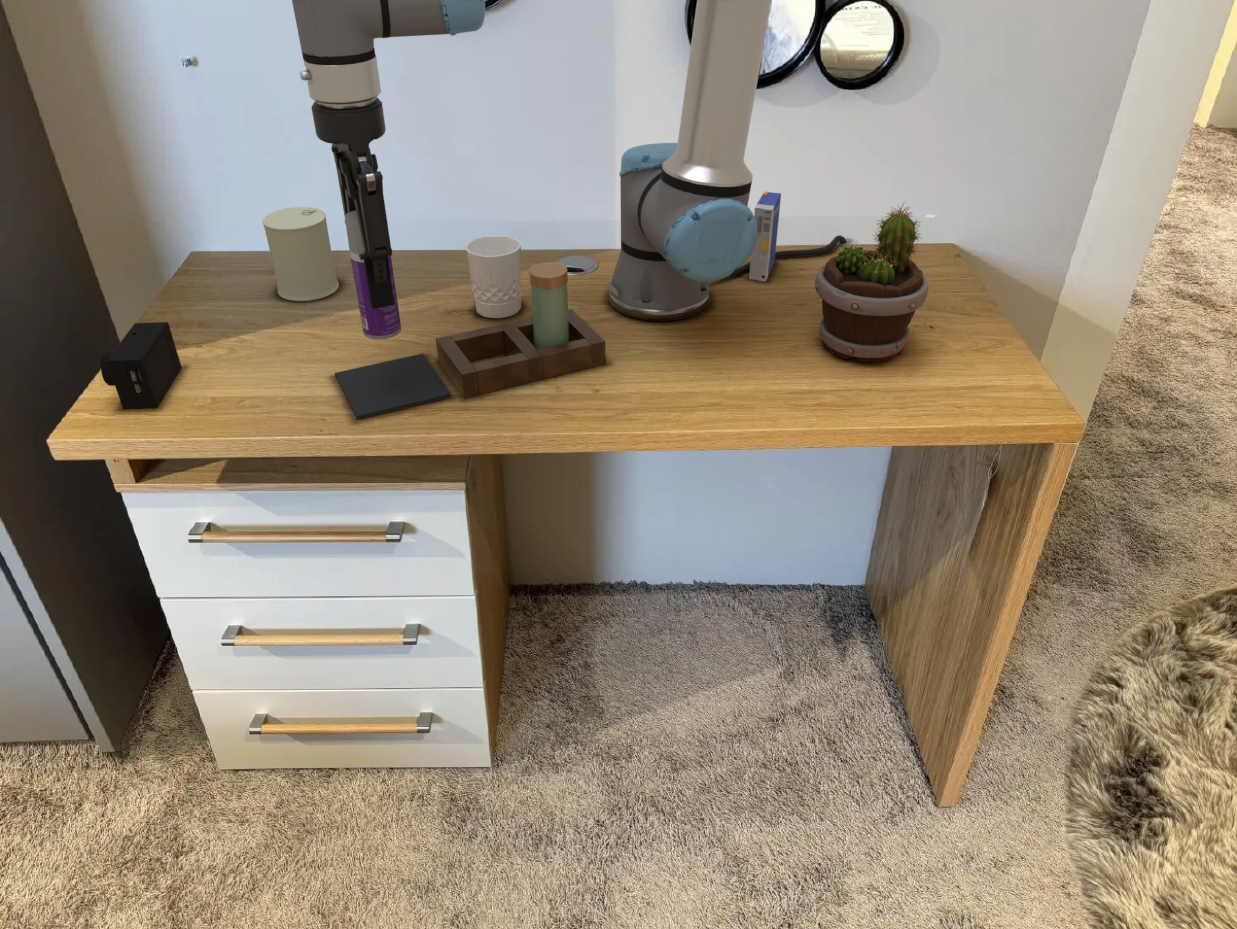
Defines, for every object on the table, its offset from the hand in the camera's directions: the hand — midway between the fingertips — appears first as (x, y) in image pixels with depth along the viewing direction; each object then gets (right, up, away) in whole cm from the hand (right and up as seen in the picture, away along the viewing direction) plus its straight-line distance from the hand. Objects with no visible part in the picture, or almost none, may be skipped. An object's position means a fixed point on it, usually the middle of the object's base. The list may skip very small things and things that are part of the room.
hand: (377, 296), depth 117 cm
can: (-19, +7, +32) cm, 38 cm away
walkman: (+53, +11, +37) cm, 66 cm away
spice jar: (+20, -6, +14) cm, 26 cm away
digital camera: (-32, -11, +7) cm, 34 cm away
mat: (0, -10, +7) cm, 13 cm away
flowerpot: (+63, -4, +16) cm, 66 cm away
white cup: (+12, +3, +26) cm, 29 cm away
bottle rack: (+16, -7, +13) cm, 22 cm away
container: (0, -4, +3) cm, 5 cm away
